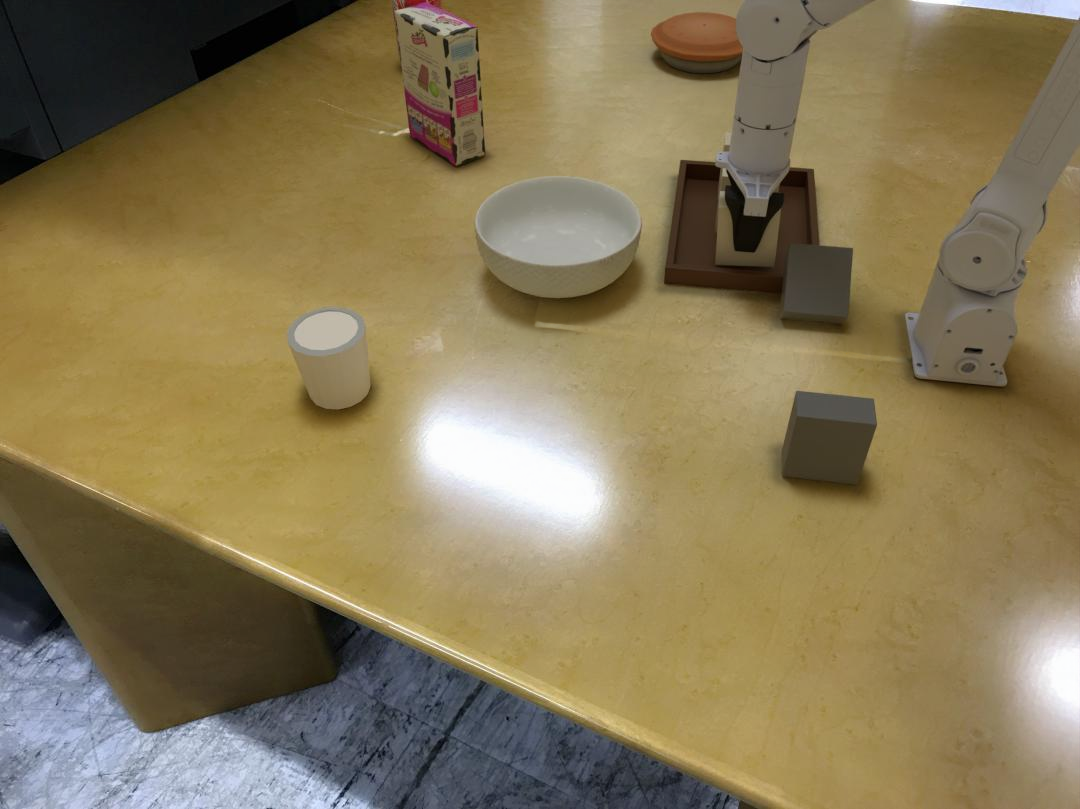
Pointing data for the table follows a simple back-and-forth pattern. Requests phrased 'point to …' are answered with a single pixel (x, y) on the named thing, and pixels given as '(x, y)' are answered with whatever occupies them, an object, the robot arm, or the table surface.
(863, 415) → the grey book
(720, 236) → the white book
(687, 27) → the pie
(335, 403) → the white cup
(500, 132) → the table surface
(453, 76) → the candy bar box
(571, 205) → the cereal bowl
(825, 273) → the gray rectangular block
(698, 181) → the book tray
